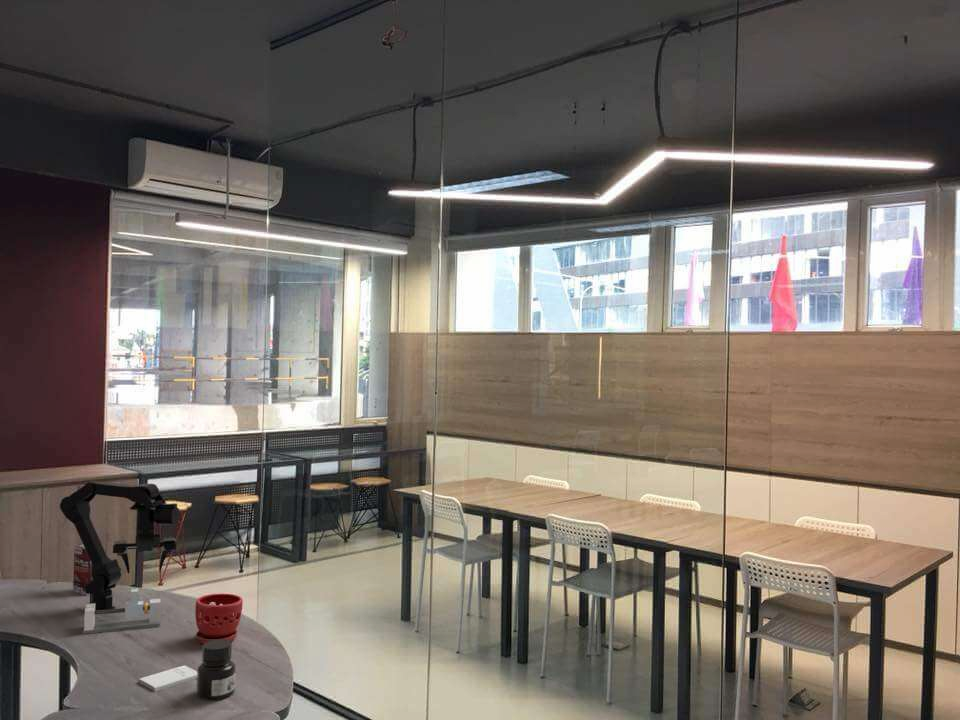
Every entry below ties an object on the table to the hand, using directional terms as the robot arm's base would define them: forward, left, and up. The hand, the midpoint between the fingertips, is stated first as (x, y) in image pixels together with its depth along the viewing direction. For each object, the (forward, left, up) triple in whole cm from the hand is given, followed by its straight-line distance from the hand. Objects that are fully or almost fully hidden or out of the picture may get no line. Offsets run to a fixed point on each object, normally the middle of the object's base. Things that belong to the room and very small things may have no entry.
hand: (144, 572), depth 250 cm
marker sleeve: (+7, -11, -10) cm, 16 cm away
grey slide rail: (+5, -13, -13) cm, 19 cm away
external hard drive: (+47, -37, -14) cm, 61 cm away
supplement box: (-34, +8, -13) cm, 37 cm away
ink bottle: (+63, -39, -13) cm, 75 cm away
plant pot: (+38, -9, -13) cm, 41 cm away
